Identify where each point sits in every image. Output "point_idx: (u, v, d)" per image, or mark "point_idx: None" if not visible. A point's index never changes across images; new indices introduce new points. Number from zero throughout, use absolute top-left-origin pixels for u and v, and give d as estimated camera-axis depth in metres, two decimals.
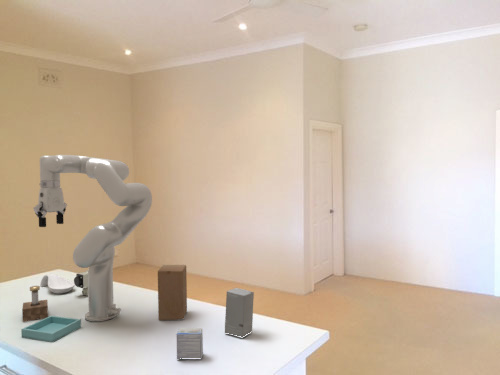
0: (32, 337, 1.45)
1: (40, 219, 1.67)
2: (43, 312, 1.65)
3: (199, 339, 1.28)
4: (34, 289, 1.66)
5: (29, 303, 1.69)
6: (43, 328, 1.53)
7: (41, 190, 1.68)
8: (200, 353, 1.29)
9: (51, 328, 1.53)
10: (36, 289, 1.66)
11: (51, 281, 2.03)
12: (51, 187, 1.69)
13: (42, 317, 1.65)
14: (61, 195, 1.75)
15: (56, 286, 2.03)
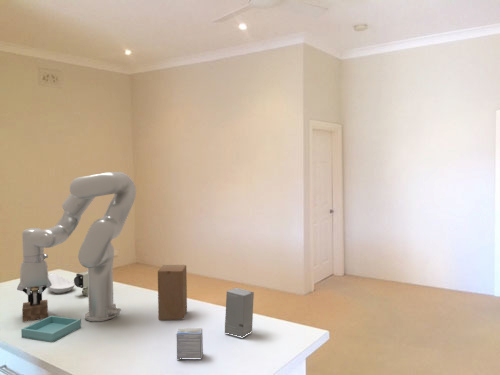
0: (32, 337, 1.45)
1: (41, 294, 1.68)
2: (43, 312, 1.65)
3: (199, 339, 1.28)
4: (34, 289, 1.66)
5: (29, 303, 1.69)
6: (43, 328, 1.53)
7: (46, 262, 1.68)
8: (200, 353, 1.29)
9: (51, 328, 1.53)
10: (36, 289, 1.66)
11: (51, 281, 2.04)
12: None
13: (42, 317, 1.65)
14: None
15: (56, 286, 2.04)
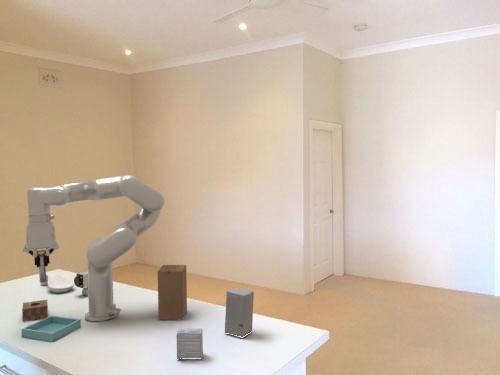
0: (32, 337, 1.45)
1: None
2: (43, 312, 1.65)
3: (199, 339, 1.28)
4: (41, 252, 1.57)
5: (29, 303, 1.69)
6: (43, 328, 1.53)
7: (52, 223, 1.59)
8: (200, 353, 1.29)
9: (51, 328, 1.53)
10: (43, 252, 1.57)
11: (51, 280, 2.04)
12: None
13: (42, 317, 1.65)
14: None
15: (56, 285, 2.04)
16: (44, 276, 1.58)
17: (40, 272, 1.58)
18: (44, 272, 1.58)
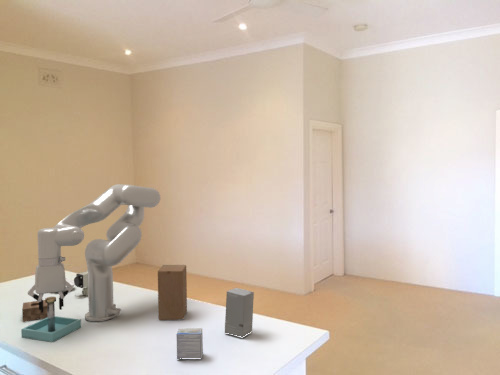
0: (32, 337, 1.45)
1: None
2: (43, 312, 1.65)
3: (199, 339, 1.28)
4: (50, 301, 1.49)
5: (29, 303, 1.69)
6: (43, 328, 1.53)
7: (63, 266, 1.52)
8: (200, 353, 1.29)
9: None
10: (52, 300, 1.50)
11: None
12: None
13: (42, 317, 1.65)
14: None
15: None
16: (53, 325, 1.51)
17: (49, 321, 1.50)
18: (53, 321, 1.51)
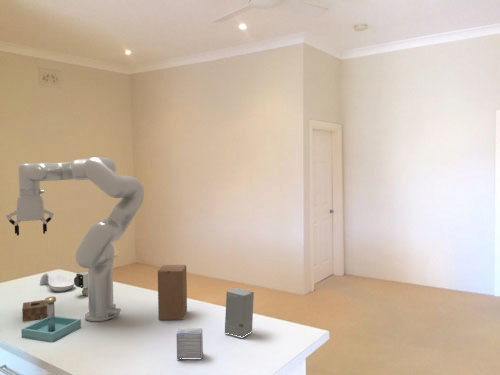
0: (32, 337, 1.45)
1: (46, 225, 1.73)
2: (43, 312, 1.65)
3: (199, 339, 1.28)
4: (50, 301, 1.49)
5: (29, 303, 1.69)
6: (43, 328, 1.53)
7: None
8: (200, 353, 1.29)
9: None
10: (52, 300, 1.50)
11: (51, 279, 2.06)
12: None
13: (42, 317, 1.65)
14: None
15: (56, 284, 2.06)
16: (53, 325, 1.51)
17: (49, 321, 1.50)
18: (53, 321, 1.51)
